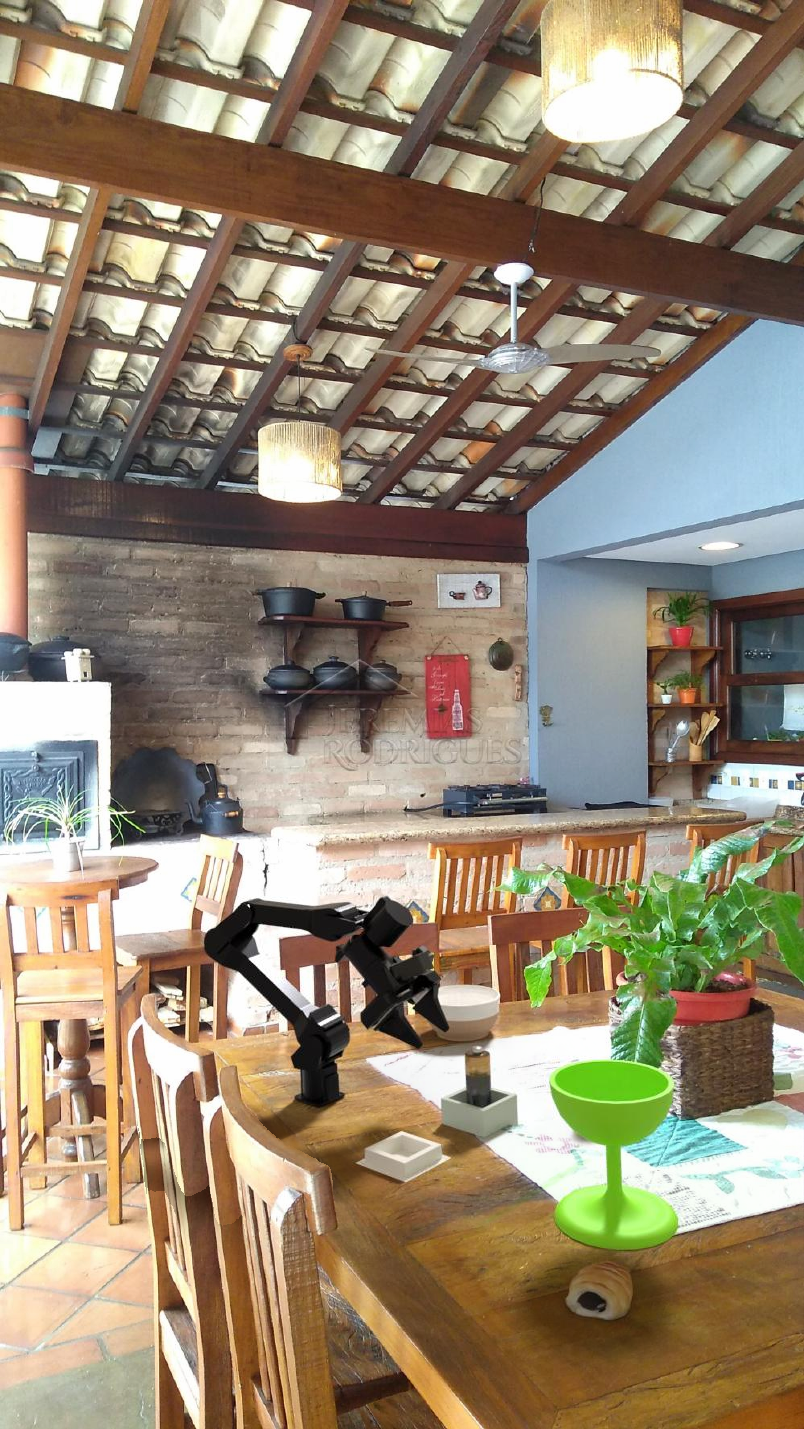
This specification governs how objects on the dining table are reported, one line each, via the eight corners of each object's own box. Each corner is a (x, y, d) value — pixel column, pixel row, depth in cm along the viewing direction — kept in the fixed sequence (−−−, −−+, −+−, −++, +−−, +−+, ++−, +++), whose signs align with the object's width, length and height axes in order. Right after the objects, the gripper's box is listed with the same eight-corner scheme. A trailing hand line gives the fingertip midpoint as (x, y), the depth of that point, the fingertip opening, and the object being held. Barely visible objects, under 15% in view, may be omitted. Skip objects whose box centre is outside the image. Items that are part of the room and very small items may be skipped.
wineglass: (531, 1205, 140) (526, 1072, 140) (630, 1180, 146) (625, 1052, 146) (598, 1262, 125) (593, 1112, 125) (705, 1231, 131) (700, 1089, 131)
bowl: (504, 1044, 207) (503, 1004, 207) (424, 1046, 207) (423, 1007, 207) (498, 1020, 223) (497, 983, 223) (423, 1022, 223) (422, 985, 223)
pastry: (589, 1272, 123) (588, 1240, 123) (645, 1285, 120) (644, 1252, 120) (562, 1314, 115) (562, 1280, 115) (623, 1330, 112) (622, 1294, 112)
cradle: (355, 1169, 153) (355, 1149, 153) (401, 1147, 160) (401, 1127, 160) (406, 1189, 146) (405, 1167, 146) (451, 1164, 153) (451, 1144, 153)
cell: (465, 1127, 164) (463, 1051, 164) (468, 1117, 168) (465, 1043, 168) (491, 1128, 164) (488, 1052, 164) (493, 1118, 168) (490, 1043, 168)
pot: (442, 1129, 166) (441, 1098, 166) (475, 1113, 172) (474, 1083, 172) (484, 1143, 160) (483, 1111, 160) (517, 1125, 166) (516, 1094, 166)
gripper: (374, 946, 164) (438, 1024, 159) (429, 922, 180) (489, 993, 175) (333, 990, 168) (395, 1068, 163) (391, 963, 184) (449, 1033, 179)
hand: (434, 1038), depth 170 cm, fingers open, 9 cm apart
